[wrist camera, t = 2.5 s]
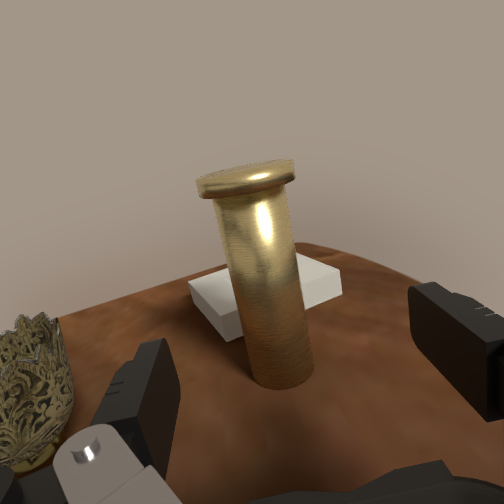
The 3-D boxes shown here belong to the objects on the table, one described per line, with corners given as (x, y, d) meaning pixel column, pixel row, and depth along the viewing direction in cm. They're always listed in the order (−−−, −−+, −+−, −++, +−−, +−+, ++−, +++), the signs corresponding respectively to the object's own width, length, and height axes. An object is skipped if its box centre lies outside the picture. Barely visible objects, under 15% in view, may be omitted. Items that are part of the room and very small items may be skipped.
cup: (-63, 551, 17) (-151, 419, 15) (-11, 441, 24) (-66, 338, 22) (98, 483, 19) (43, 357, 17) (104, 399, 26) (66, 300, 24)
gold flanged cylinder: (265, 410, 22) (214, 182, 18) (230, 364, 27) (184, 179, 23) (342, 371, 24) (312, 158, 20) (296, 335, 29) (264, 159, 25)
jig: (226, 342, 30) (220, 316, 29) (193, 302, 39) (188, 281, 38) (342, 294, 34) (339, 269, 34) (288, 268, 43) (285, 248, 43)
